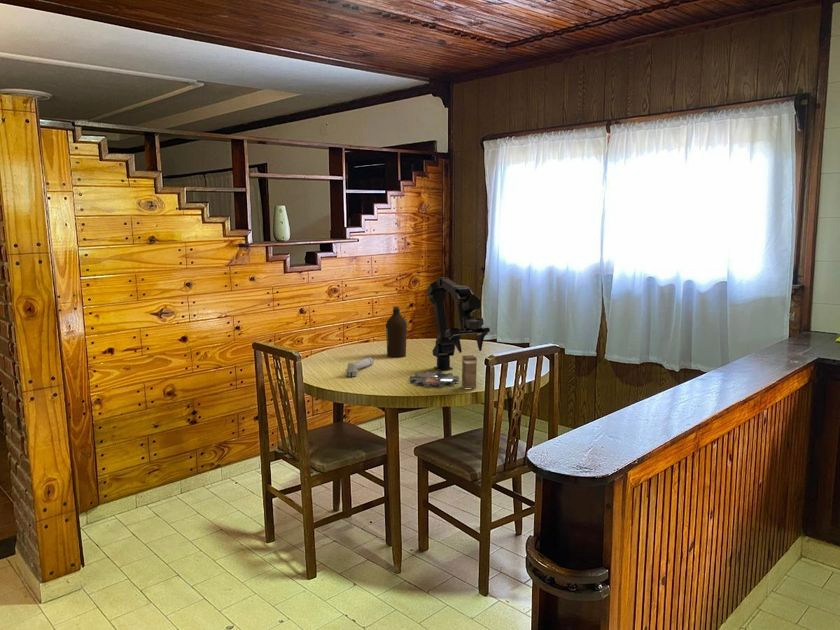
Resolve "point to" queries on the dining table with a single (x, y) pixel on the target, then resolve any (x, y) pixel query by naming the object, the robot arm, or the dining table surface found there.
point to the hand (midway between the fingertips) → (470, 351)
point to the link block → (469, 371)
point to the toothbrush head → (358, 366)
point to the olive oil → (396, 334)
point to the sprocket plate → (433, 379)
